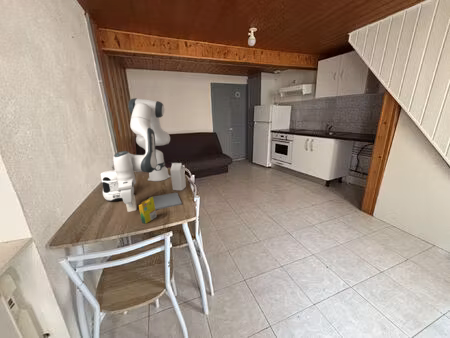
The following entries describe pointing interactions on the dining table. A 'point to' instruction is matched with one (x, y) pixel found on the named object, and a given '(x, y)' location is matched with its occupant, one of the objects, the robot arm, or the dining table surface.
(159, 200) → the mat
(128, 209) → the cream block
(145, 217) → the crayon box
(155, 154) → the robot arm
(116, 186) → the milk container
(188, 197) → the dining table surface
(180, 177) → the milk carton
